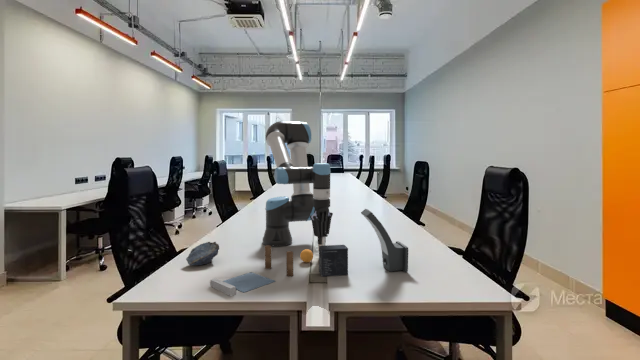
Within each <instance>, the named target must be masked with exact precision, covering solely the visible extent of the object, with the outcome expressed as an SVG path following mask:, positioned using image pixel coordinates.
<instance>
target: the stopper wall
mask: <svg viewBox="0 0 640 360" xmlns="http://www.w3.org/2000/svg"><path fill="white" fill-rule="evenodd" d="M209 281H210V282H209V283H210V287H211V288H213V289H214V290H218V291H219V292H222V293H223V294H225V295H227V296H229V297H230V296H234V295H236V294H237V289H236V287H235V286H233V285H230V284H228V283H226V282H223V281H224V280H221V279H219V278H216V277H214V278H212V279H211V278H210V280H209Z"/></svg>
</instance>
